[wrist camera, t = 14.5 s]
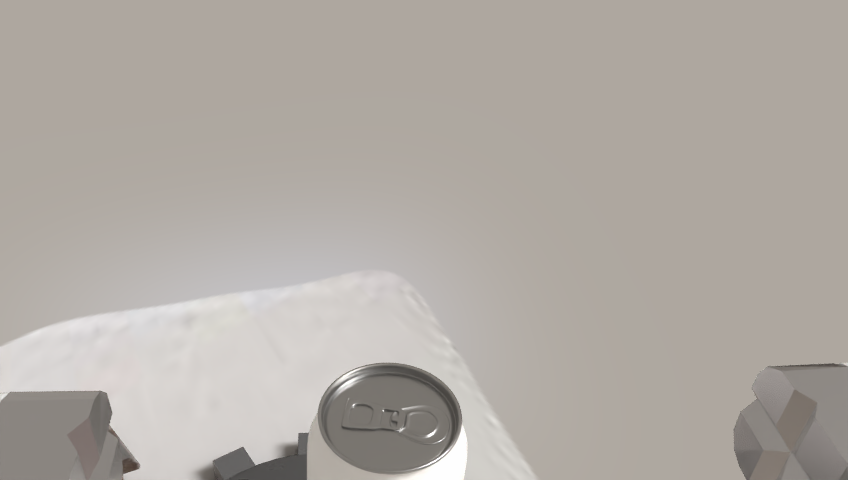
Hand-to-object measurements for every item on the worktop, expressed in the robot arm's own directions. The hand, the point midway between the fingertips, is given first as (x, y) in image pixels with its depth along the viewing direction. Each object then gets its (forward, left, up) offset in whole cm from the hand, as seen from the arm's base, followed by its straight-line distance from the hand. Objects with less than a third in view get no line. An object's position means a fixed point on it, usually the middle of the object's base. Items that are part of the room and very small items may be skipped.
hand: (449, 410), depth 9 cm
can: (+1, +14, -27) cm, 31 cm away
